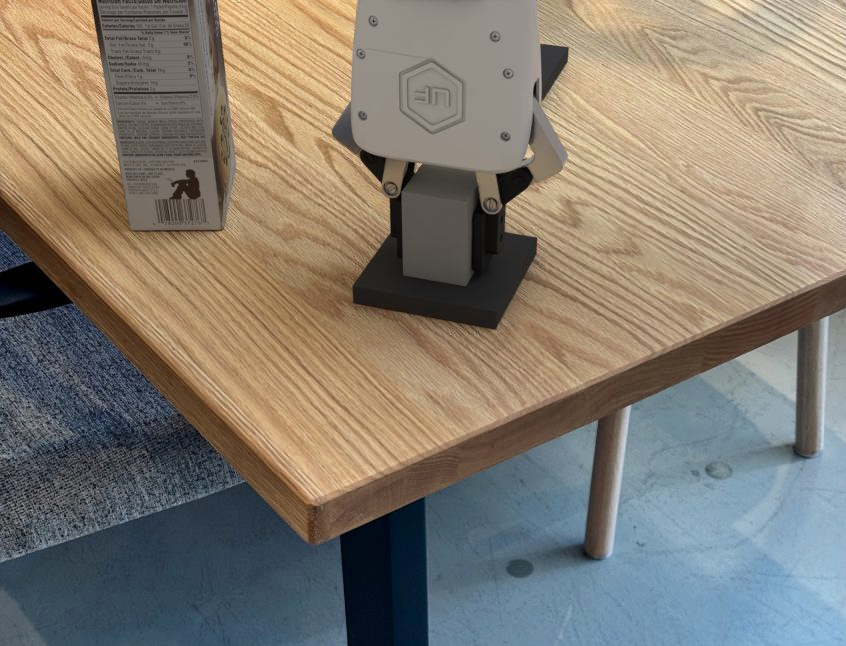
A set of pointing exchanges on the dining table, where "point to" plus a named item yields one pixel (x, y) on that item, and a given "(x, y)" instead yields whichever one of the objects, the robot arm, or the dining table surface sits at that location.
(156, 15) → the coffee box
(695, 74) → the dining table surface
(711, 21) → the dining table surface
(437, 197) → the grey post on plate
